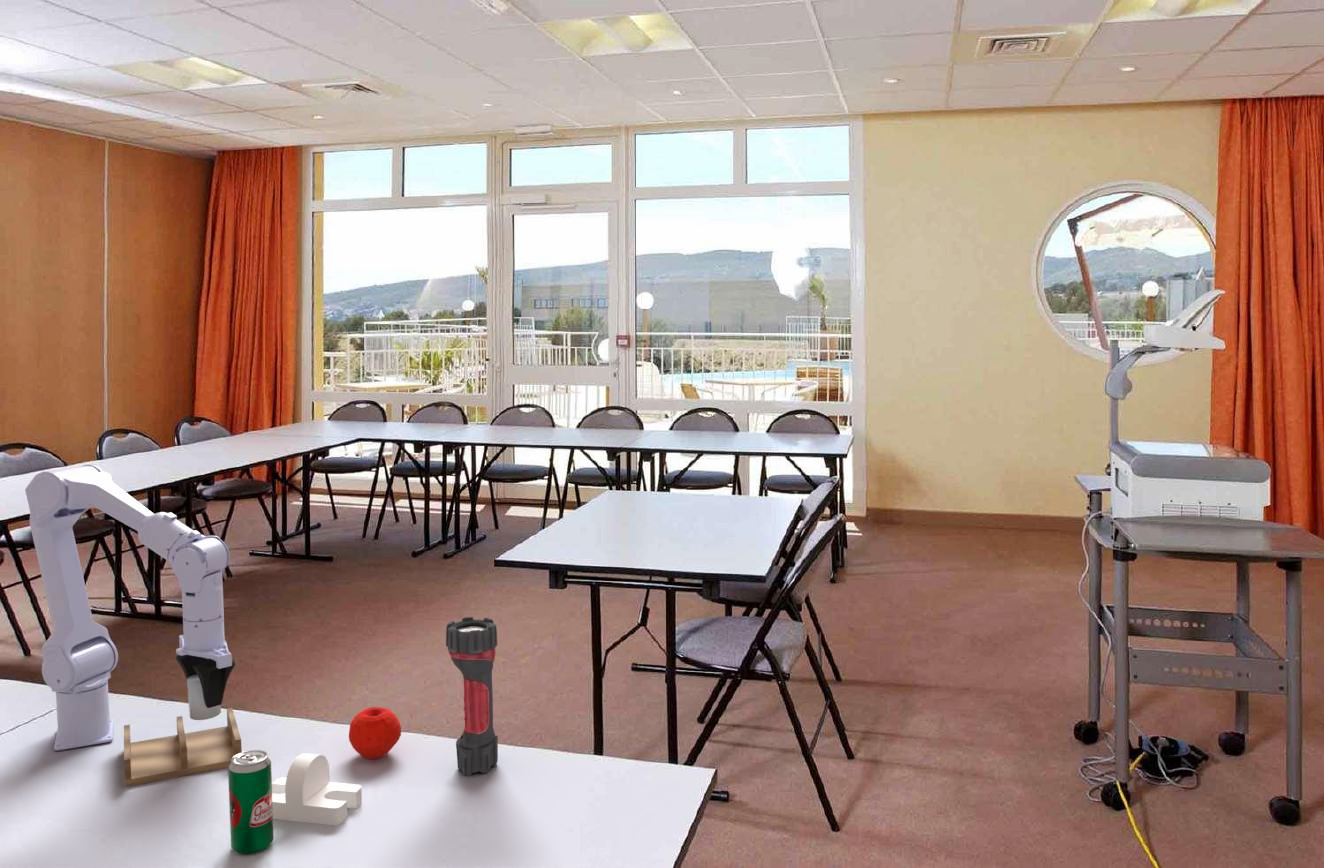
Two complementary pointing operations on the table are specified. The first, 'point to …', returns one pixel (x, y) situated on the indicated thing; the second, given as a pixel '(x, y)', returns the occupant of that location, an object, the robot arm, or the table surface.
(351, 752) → the table surface
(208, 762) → the rack
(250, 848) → the soda can
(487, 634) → the flashlight
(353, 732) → the apple
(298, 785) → the slotted bracket
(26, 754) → the table surface
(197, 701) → the cylinder
